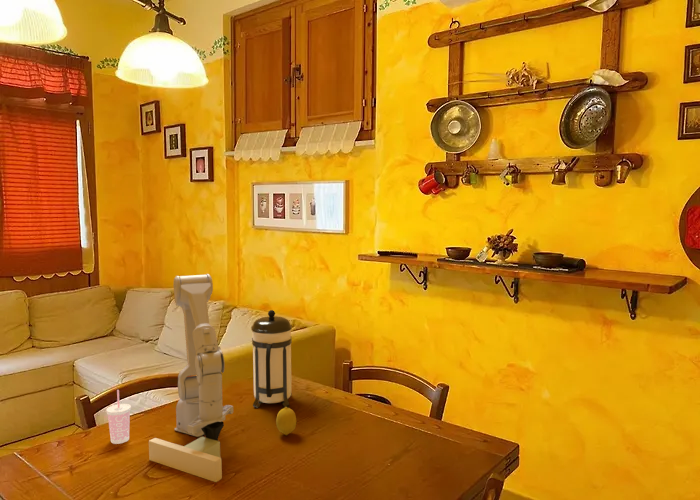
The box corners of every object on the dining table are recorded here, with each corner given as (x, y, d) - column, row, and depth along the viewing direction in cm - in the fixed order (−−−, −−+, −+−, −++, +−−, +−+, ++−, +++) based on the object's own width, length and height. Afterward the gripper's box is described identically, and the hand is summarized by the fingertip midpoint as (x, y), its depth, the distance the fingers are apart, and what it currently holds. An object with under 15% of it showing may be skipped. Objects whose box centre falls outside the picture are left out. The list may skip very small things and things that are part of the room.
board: (149, 460, 133) (148, 440, 133) (155, 456, 135) (155, 437, 135) (215, 482, 123) (215, 461, 122) (221, 478, 125) (221, 457, 124)
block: (182, 465, 131) (181, 447, 130) (202, 453, 137) (201, 436, 136) (200, 471, 128) (199, 453, 127) (220, 458, 134) (219, 441, 134)
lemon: (299, 432, 149) (299, 404, 148) (291, 440, 144) (290, 412, 143) (281, 429, 151) (281, 402, 150) (272, 437, 146) (272, 409, 145)
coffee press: (237, 401, 171) (235, 310, 168) (278, 389, 182) (277, 303, 179) (268, 418, 159) (266, 319, 156) (310, 404, 169) (309, 311, 166)
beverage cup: (105, 446, 141) (102, 395, 139) (110, 436, 147) (108, 386, 145) (129, 443, 142) (127, 393, 141) (134, 434, 148) (132, 385, 147)
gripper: (202, 411, 126) (203, 466, 128) (241, 391, 139) (242, 441, 140) (180, 406, 130) (182, 459, 131) (221, 387, 142) (222, 435, 144)
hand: (212, 449), depth 136 cm, fingers closed, pressing on block
